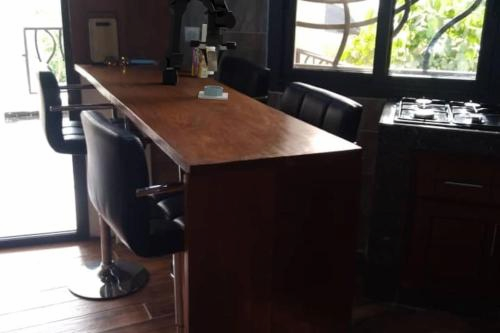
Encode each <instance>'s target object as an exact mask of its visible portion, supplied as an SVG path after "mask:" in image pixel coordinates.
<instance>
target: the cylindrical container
mask: <svg viewBox="0 0 500 333" xmlns="http://www.w3.org/2000/svg"><path fill="white" fill-rule="evenodd" d="M201 29H202V30H201V42H206V35H207V23H206V24H205V23H203V24H202V28H201ZM206 47H208V46H206ZM209 51H216V47H209ZM214 73H215V71H208V75H214Z"/></svg>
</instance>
